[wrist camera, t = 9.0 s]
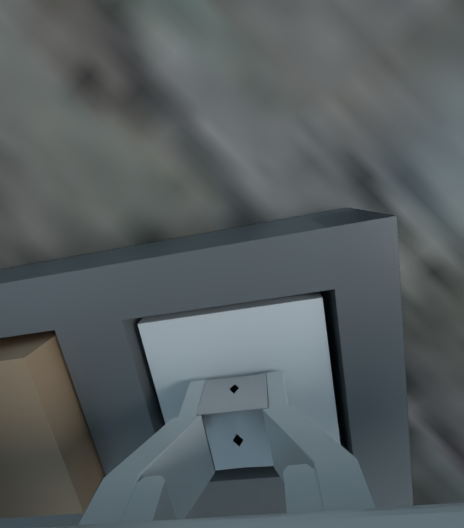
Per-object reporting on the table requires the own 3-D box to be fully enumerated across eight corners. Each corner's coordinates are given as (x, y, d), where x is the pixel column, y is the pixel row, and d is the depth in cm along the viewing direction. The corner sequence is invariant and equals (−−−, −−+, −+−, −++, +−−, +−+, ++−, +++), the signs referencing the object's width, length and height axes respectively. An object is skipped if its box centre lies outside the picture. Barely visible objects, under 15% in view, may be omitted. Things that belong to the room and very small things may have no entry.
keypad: (347, 207, 11) (396, 216, 7) (380, 552, 15) (423, 675, 11) (-55, 279, 13) (-182, 314, 9) (66, 564, 17) (11, 672, 13)
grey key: (307, 273, 11) (322, 297, 8) (324, 403, 12) (341, 457, 10) (162, 295, 11) (137, 324, 9) (193, 416, 13) (178, 469, 10)
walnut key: (77, 319, 10) (23, 357, 8) (119, 447, 12) (83, 513, 9) (-57, 339, 11) (-144, 380, 9) (-4, 458, 12) (-67, 522, 10)
